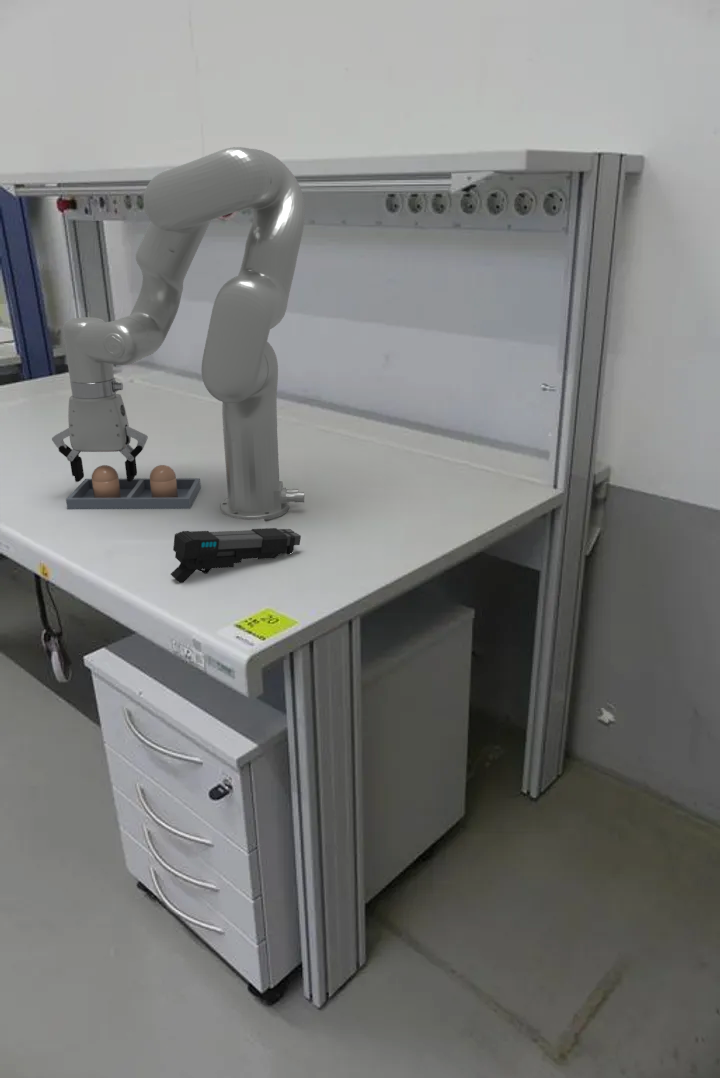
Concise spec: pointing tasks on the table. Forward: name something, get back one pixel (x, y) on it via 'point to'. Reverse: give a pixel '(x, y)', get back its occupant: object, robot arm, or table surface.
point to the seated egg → (163, 482)
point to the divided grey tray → (135, 496)
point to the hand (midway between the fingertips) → (105, 479)
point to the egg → (105, 482)
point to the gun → (228, 548)
